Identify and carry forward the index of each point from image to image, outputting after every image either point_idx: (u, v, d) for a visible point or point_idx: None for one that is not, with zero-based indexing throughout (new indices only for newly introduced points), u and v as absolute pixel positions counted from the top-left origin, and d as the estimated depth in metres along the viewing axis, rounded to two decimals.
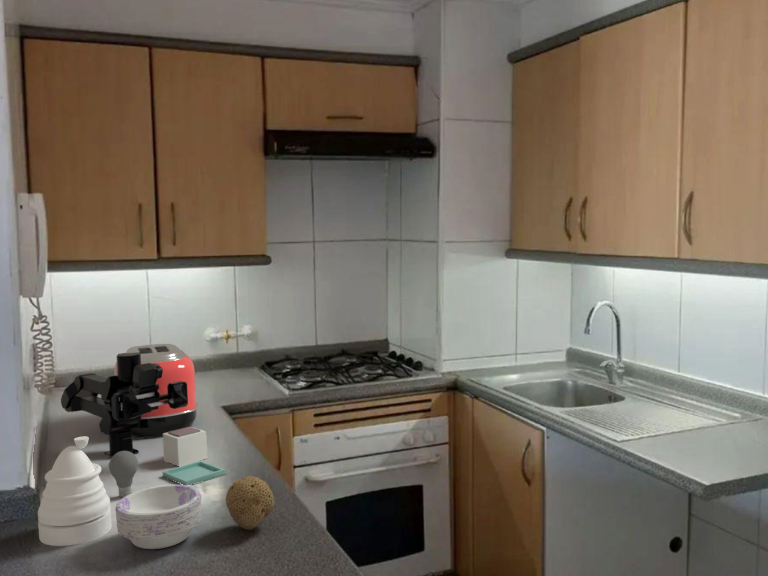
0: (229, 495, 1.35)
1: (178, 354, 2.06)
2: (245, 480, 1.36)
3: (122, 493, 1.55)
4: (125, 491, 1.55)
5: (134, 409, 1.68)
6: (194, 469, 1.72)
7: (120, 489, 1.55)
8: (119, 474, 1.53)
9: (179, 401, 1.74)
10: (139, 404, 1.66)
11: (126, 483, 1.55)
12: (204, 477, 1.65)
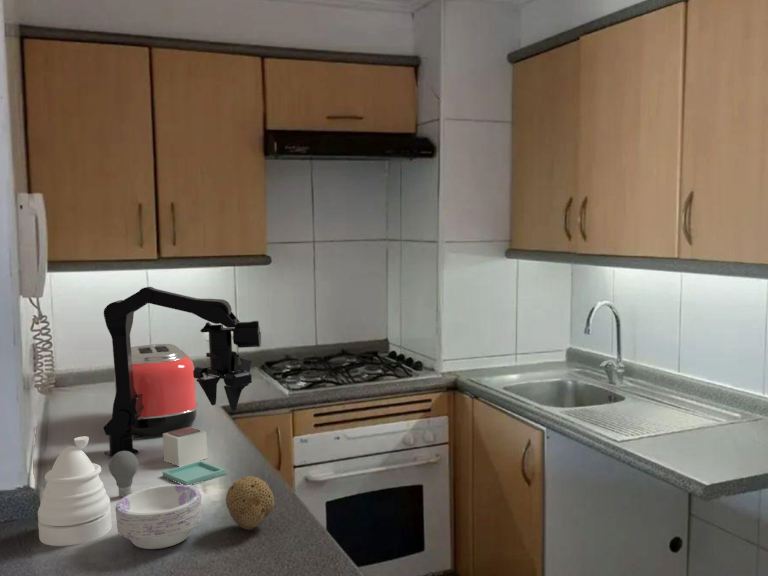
0: (229, 495, 1.35)
1: (178, 354, 2.06)
2: (245, 480, 1.36)
3: (122, 493, 1.55)
4: (125, 491, 1.55)
5: (233, 389, 1.83)
6: (194, 469, 1.72)
7: (120, 489, 1.55)
8: (119, 474, 1.53)
9: (211, 393, 1.91)
10: (238, 398, 1.84)
11: (126, 483, 1.55)
12: (204, 477, 1.65)
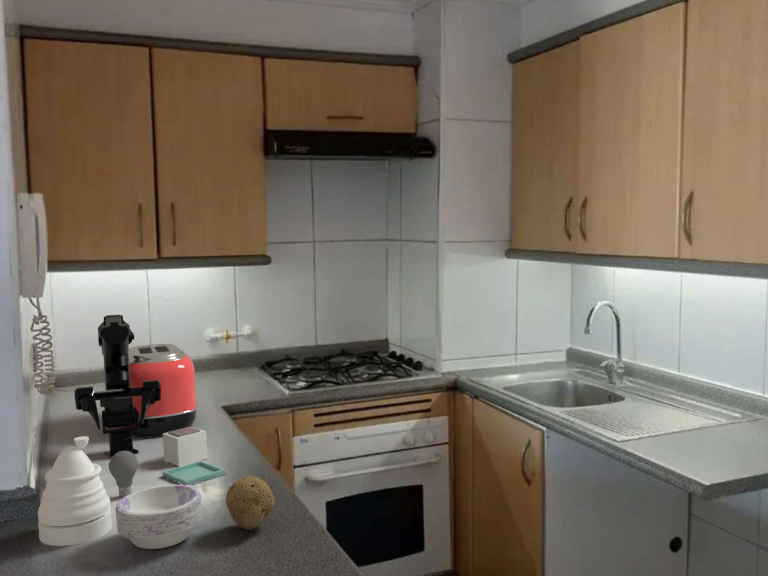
0: (229, 495, 1.35)
1: (178, 354, 2.06)
2: (245, 480, 1.36)
3: (122, 493, 1.55)
4: (125, 491, 1.55)
5: None
6: (194, 469, 1.72)
7: (120, 489, 1.55)
8: (119, 474, 1.53)
9: None
10: (146, 412, 1.68)
11: (126, 483, 1.55)
12: (204, 477, 1.65)
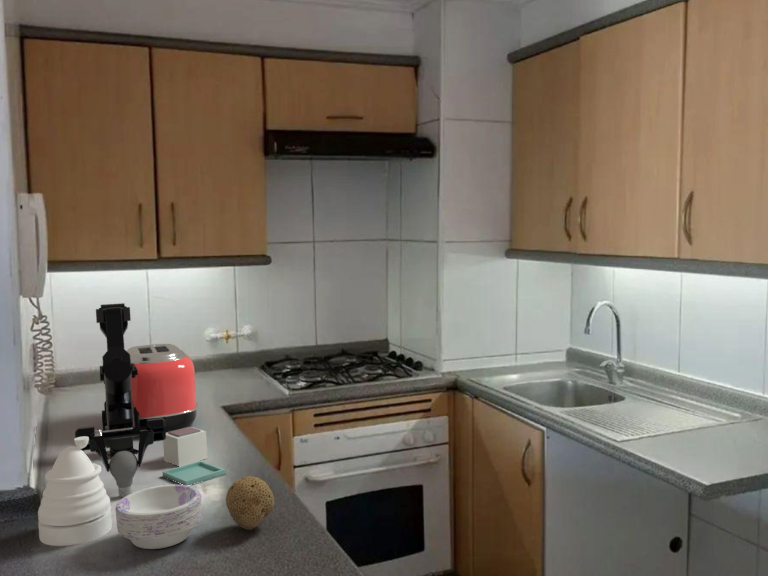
0: (229, 495, 1.35)
1: (178, 354, 2.06)
2: (245, 480, 1.36)
3: (122, 493, 1.55)
4: (125, 491, 1.55)
5: None
6: (194, 469, 1.72)
7: (120, 489, 1.55)
8: (119, 474, 1.53)
9: None
10: (143, 454, 1.59)
11: (126, 483, 1.55)
12: (204, 477, 1.65)
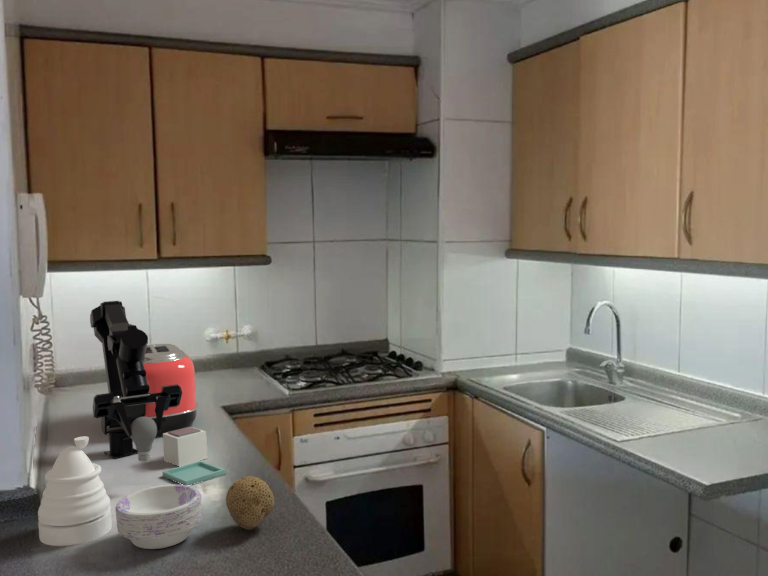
0: (229, 495, 1.35)
1: (178, 354, 2.06)
2: (245, 480, 1.36)
3: (142, 458, 1.58)
4: (145, 455, 1.58)
5: None
6: (194, 469, 1.72)
7: (140, 454, 1.58)
8: (141, 439, 1.56)
9: None
10: None
11: (147, 448, 1.58)
12: (204, 477, 1.65)
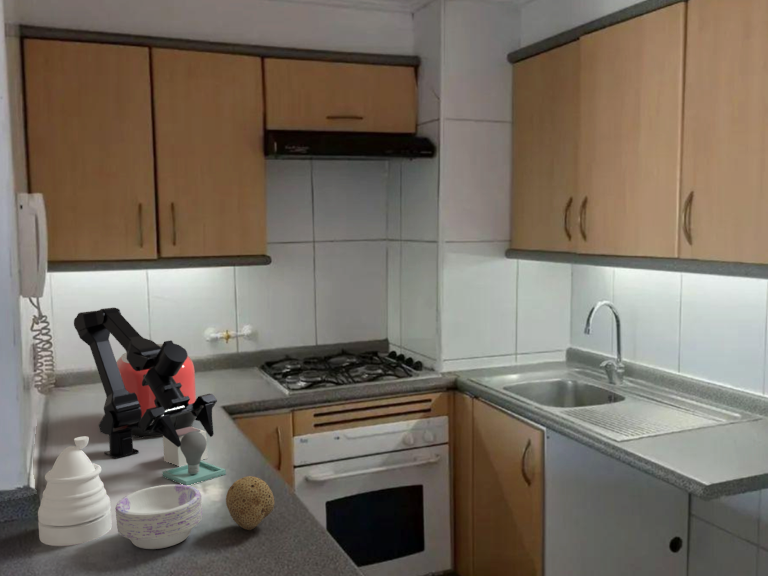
0: (229, 495, 1.35)
1: None
2: (245, 480, 1.36)
3: (194, 470, 1.67)
4: (196, 468, 1.68)
5: None
6: None
7: (192, 467, 1.67)
8: (196, 452, 1.66)
9: None
10: None
11: (199, 460, 1.68)
12: (204, 477, 1.65)
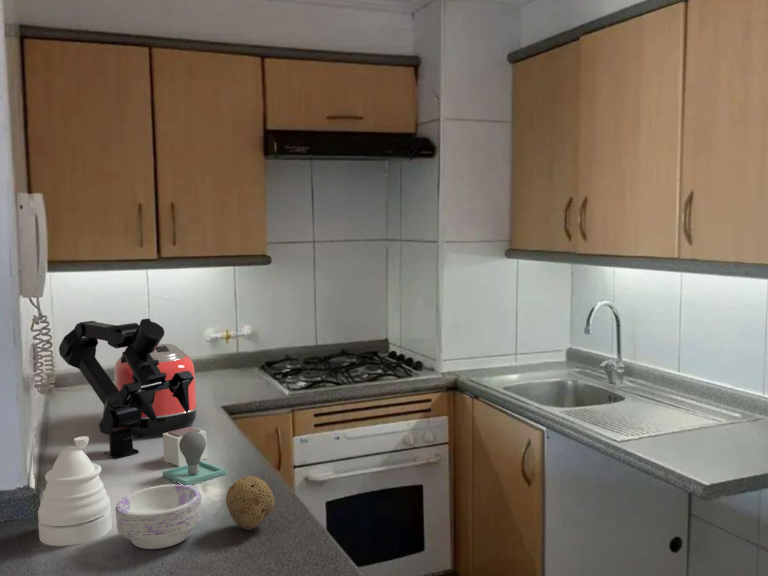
0: (229, 495, 1.35)
1: (178, 354, 2.06)
2: (245, 480, 1.36)
3: (194, 470, 1.67)
4: (196, 468, 1.68)
5: None
6: None
7: (192, 467, 1.67)
8: (196, 452, 1.66)
9: None
10: None
11: (198, 460, 1.68)
12: (204, 477, 1.65)
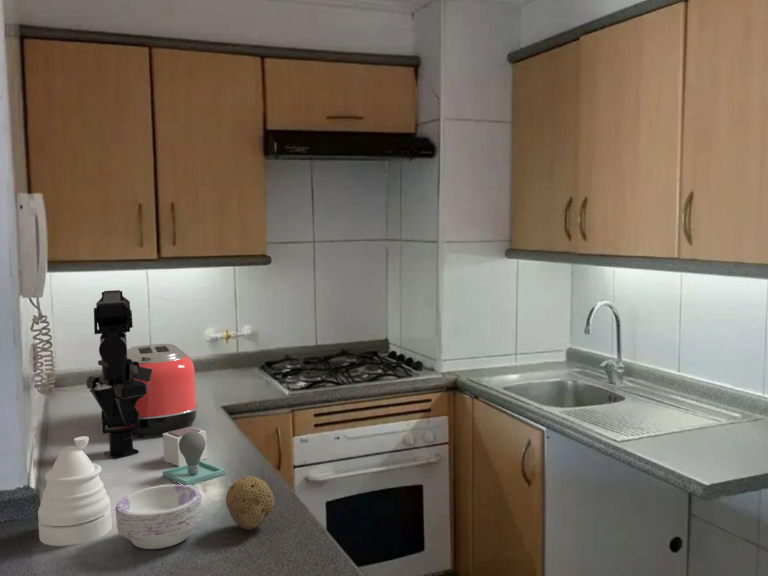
0: (229, 495, 1.35)
1: (178, 354, 2.06)
2: (245, 480, 1.36)
3: (194, 470, 1.67)
4: (196, 468, 1.68)
5: (126, 401, 1.64)
6: None
7: (192, 467, 1.67)
8: (195, 452, 1.66)
9: (106, 405, 1.72)
10: (132, 410, 1.66)
11: (198, 460, 1.68)
12: (204, 477, 1.65)
